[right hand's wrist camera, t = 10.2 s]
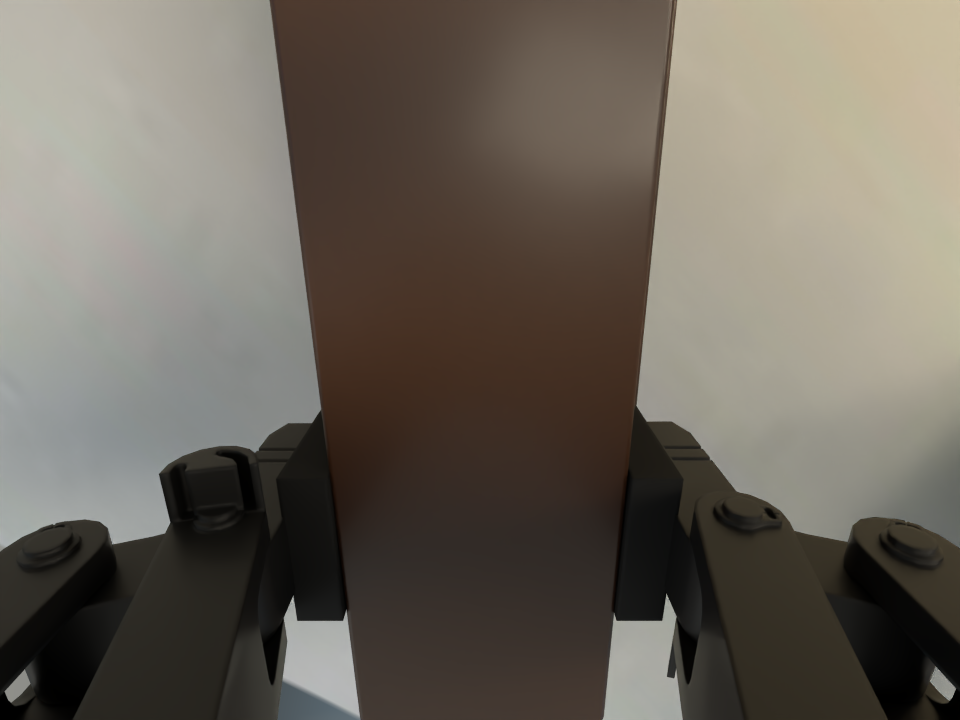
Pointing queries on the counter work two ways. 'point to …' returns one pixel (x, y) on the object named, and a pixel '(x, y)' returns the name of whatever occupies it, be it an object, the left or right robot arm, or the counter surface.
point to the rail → (477, 329)
